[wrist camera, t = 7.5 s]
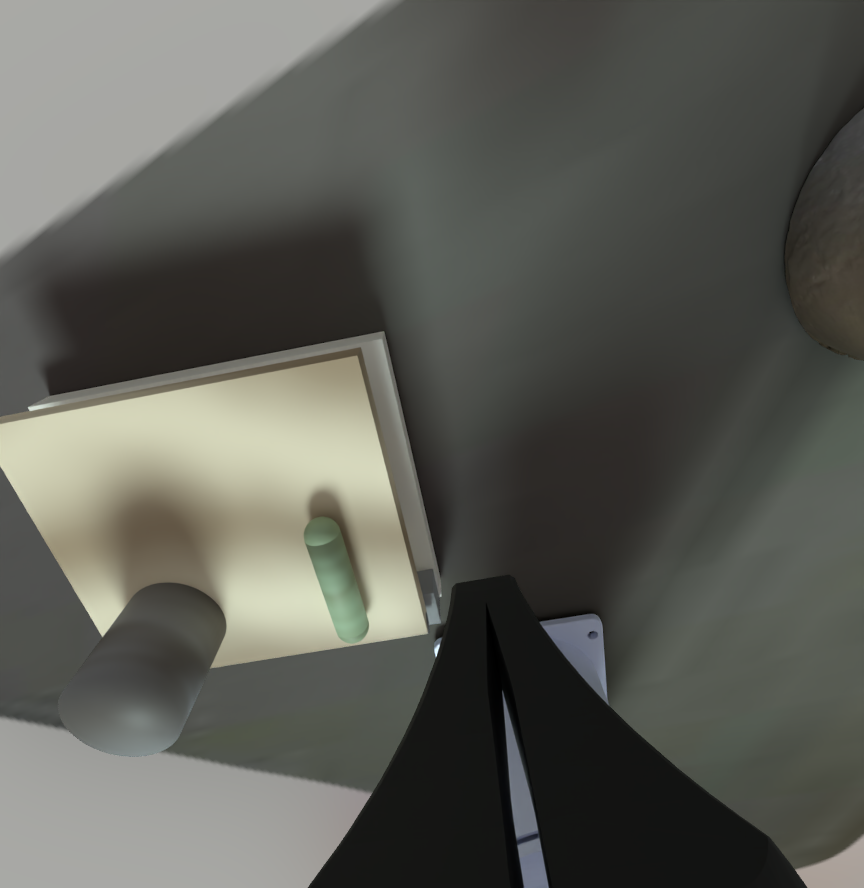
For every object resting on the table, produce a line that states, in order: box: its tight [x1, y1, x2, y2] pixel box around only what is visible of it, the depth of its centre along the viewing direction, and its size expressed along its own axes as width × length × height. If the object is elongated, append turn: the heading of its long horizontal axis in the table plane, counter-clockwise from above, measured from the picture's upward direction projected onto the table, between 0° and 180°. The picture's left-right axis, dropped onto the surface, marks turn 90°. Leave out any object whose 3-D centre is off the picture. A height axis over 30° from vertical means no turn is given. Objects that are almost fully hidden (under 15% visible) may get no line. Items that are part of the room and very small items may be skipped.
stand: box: [28, 331, 442, 625], centre depth 21 cm, size 12×13×3 cm
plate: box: [0, 347, 430, 757], centre depth 17 cm, size 11×12×5 cm
